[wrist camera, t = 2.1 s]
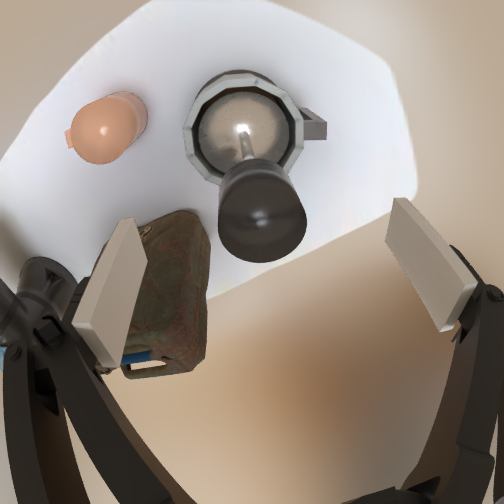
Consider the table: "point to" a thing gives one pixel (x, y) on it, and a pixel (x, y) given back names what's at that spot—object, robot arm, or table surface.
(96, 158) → the peach mug
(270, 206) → the plunger
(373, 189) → the table surface
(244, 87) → the faceted grey tankard
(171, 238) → the canister
